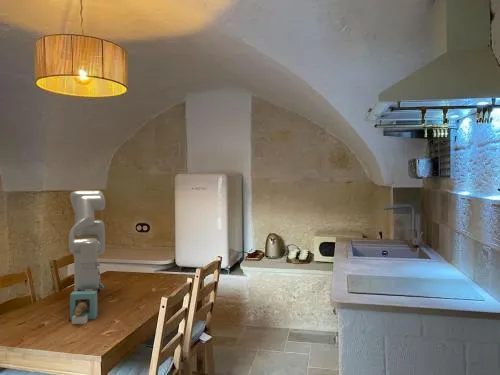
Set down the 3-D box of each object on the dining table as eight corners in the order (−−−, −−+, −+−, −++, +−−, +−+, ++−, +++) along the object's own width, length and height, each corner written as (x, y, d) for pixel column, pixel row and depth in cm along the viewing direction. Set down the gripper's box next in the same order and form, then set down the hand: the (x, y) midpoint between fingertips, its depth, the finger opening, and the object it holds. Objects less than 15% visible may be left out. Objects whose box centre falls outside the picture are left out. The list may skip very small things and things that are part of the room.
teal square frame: (73, 316, 191) (73, 291, 191) (97, 315, 193) (97, 290, 193) (70, 320, 186) (70, 294, 186) (94, 319, 188) (94, 293, 188)
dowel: (85, 302, 200) (85, 293, 200) (94, 302, 201) (94, 294, 201) (71, 317, 178) (72, 307, 178) (81, 317, 179) (82, 307, 179)
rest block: (73, 322, 184) (73, 315, 184) (87, 321, 185) (87, 314, 185) (71, 324, 181) (71, 317, 181) (85, 323, 182) (85, 317, 182)
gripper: (108, 263, 203) (108, 299, 203) (73, 264, 201) (73, 300, 201) (104, 266, 196) (104, 304, 196) (68, 267, 193) (68, 305, 194)
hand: (89, 302), depth 198 cm, fingers closed on dowel, 4 cm apart
